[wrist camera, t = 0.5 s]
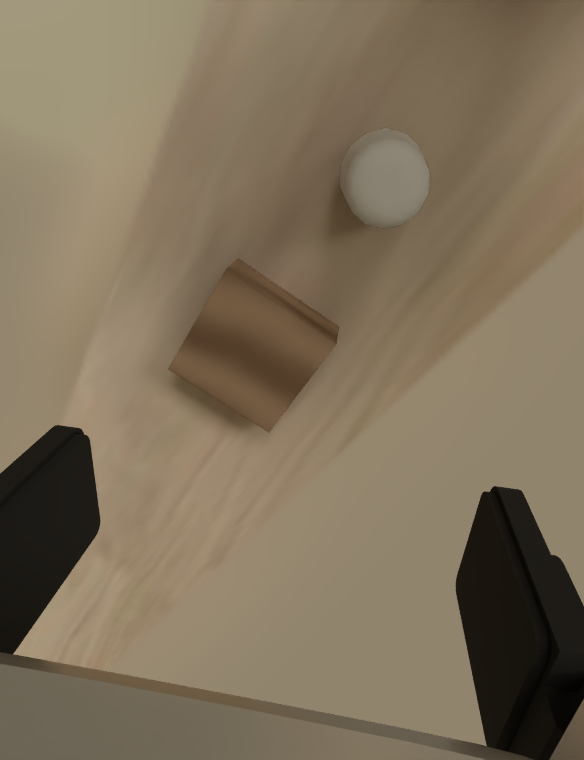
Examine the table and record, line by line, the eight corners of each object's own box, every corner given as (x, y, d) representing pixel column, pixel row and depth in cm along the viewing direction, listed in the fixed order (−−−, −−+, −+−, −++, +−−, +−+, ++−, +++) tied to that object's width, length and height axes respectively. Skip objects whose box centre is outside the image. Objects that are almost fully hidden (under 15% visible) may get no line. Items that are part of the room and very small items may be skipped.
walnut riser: (238, 258, 40) (225, 270, 36) (339, 326, 41) (336, 344, 37) (184, 351, 44) (168, 369, 41) (276, 409, 45) (268, 432, 42)
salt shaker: (417, 216, 36) (440, 249, 25) (340, 215, 37) (327, 247, 26) (426, 128, 34) (455, 119, 22) (343, 129, 35) (330, 121, 23)
